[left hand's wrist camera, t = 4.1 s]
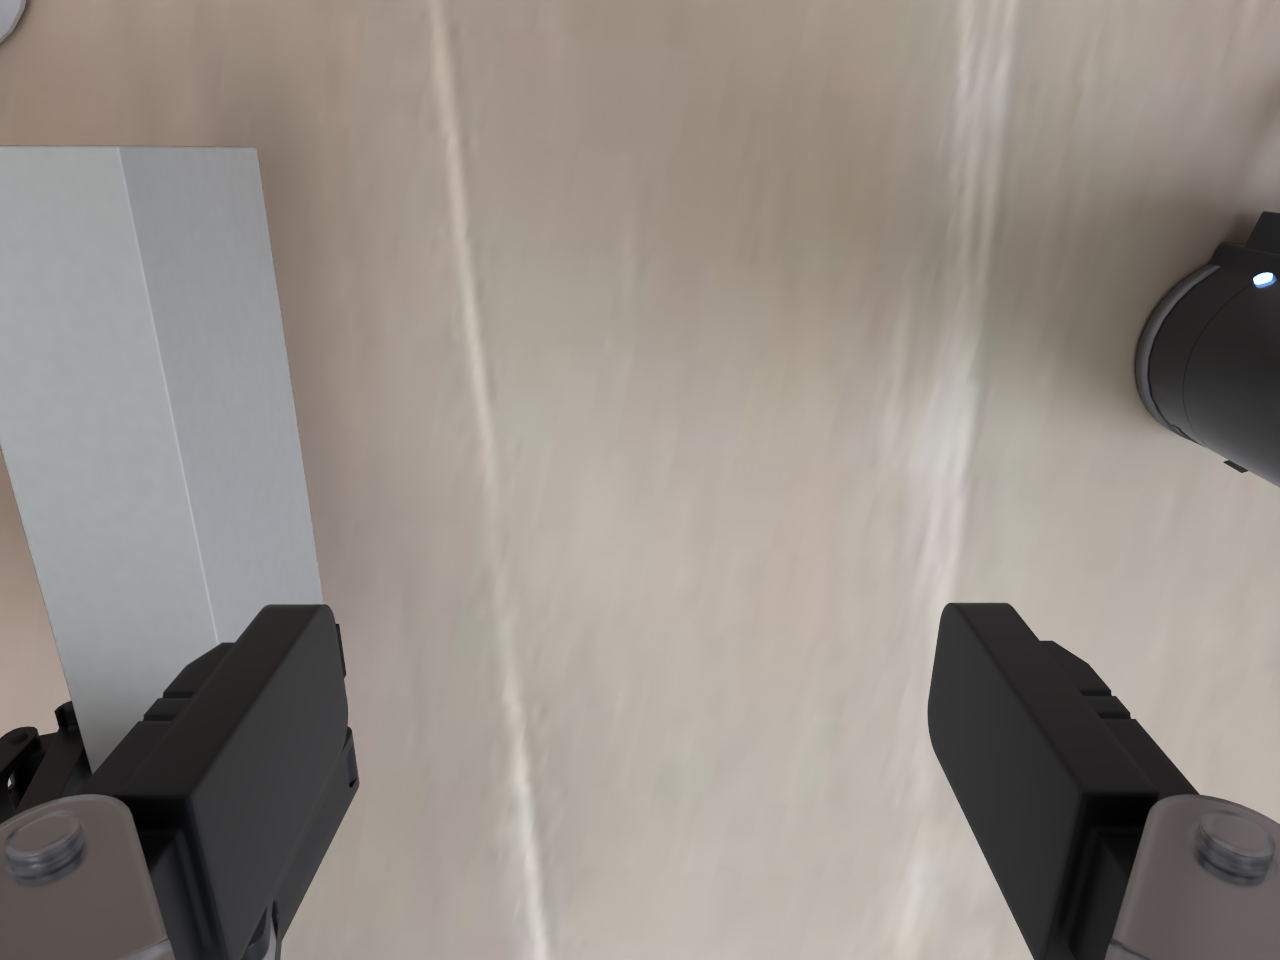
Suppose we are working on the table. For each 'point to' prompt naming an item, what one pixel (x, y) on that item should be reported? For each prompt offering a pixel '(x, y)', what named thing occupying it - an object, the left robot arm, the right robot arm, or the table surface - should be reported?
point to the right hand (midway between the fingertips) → (265, 650)
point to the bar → (147, 413)
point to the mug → (10, 16)
